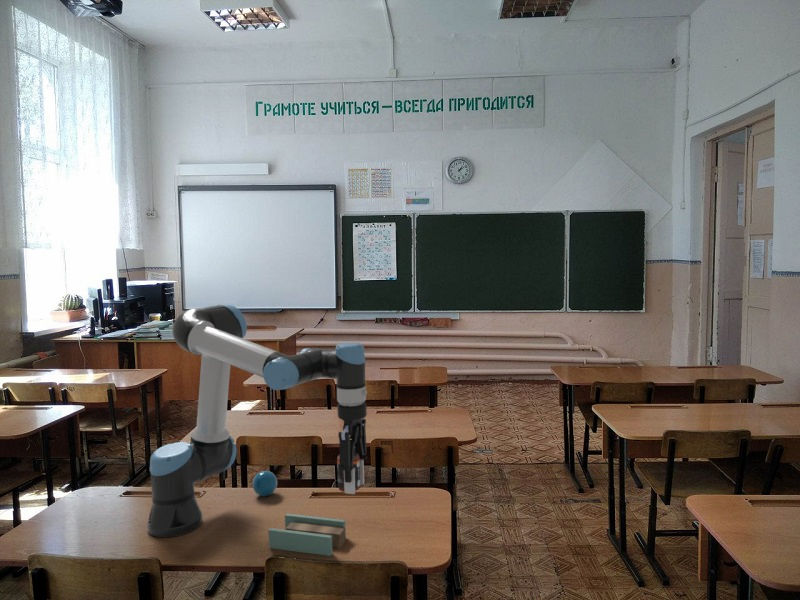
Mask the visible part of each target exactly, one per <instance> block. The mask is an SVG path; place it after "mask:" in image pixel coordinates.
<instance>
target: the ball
mask: <svg viewBox="0 0 800 600" xmlns="http://www.w3.org/2000/svg"><path fill="white" fill-rule="evenodd" d="M277 487H278V478H277V477H276V475H275V474H274V472H271V471H269V470H262V471H259V472H258V473H256V474H255V476H254V477H253V479H252V489H253V490H254V492H255V493H256V494H257V495H258V496H261V497H268V496H270V495H272V494H274V492H275V491H276V489H277Z"/></svg>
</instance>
